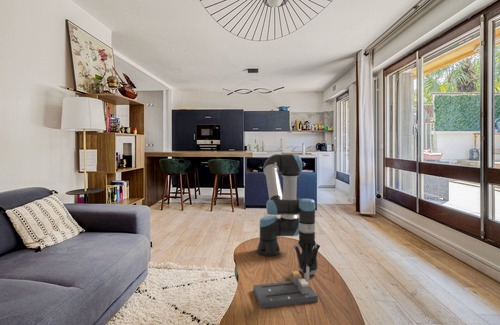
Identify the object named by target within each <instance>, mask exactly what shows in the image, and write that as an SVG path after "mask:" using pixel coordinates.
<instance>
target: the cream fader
mask: <svg viewBox="0 0 500 325" xmlns="http://www.w3.org/2000/svg"><path fill="white" fill-rule="evenodd" d="M307 281H308V280H306V279H305V278H302V279H298V289H299V291H300V292H301V293H302V294H309V286H310V285H309V282H307Z"/></svg>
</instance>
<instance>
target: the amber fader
mask: <svg viewBox="0 0 500 325" xmlns="http://www.w3.org/2000/svg"><path fill="white" fill-rule="evenodd" d="M298 279H303V278H302V274H301V273H300V271H299V270H292V271H291V281H293V283H294V284H295V285H296V286H297V285H298Z"/></svg>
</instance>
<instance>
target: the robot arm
mask: <svg viewBox="0 0 500 325" xmlns="http://www.w3.org/2000/svg"><path fill="white" fill-rule="evenodd" d="M262 168H263V174H264V176H265V178H266V179H265V180H266V187H267V191H268V192H267V193H268V200H267V201H266V205H265V206H266V208H265V209H266V214H268V215H265V216H263V217H261V218H260V219H259V241H258V245H257V248H256V253H257V254H258V255H260V256H264V257H275V256H278V255H279V254H280V253H281V248H280V244H279V242H278V237H297V236H298V243H297V244H295V245H293V249H294V250H295V253H296V257H297V263H298V265H299V264H300V265H301V266H303V272H304V274H303V276H304V278H303V279H305V280H306V281H310V275H309V273H310V272H311V267H312V265H314V264H315V261H316V257H317V256H318V252H319V249H320V247H321V246H320V244H318V243H317V242H316V240H315V239H316V233H315V231H316V203H315V202H316V201H315V200H314V199H313V198H312V199H311V198H297V191H298V190H297V187H298V185H297V184H298V182H297V179H298V177H300V173H302V172H303V161H302V158H301V155H299V154H293V153H292V154H291V153H284V154H283V153H282V154H277V153H276V154H273V155H271V156H269V157H268V158H267V159H266V160H265V161H264V164H263V167H262ZM279 173H280V175H281V177H282V179H283V180H282V182H283V183H282V184H283V186H282V185H281V180H280V177H279ZM282 188H283V189H282ZM279 215H280V217H279V218H278V216H279ZM300 248H301V251H300ZM312 248H313V253H312ZM301 252H302V258H301ZM306 263H307V264H308V265H306Z"/></svg>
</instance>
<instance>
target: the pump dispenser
mask: <svg viewBox="0 0 500 325" xmlns="http://www.w3.org/2000/svg"><path fill="white" fill-rule="evenodd" d="M313 249H314V247H313V248H312V253H313ZM300 254H301V258H302V251H300ZM318 263H319V261H318V258H317V257H316V261H315V264H314V265H312V267H311V272H310V273H309V276H313V275H315V274H316V273H317V271H318V268H319V264H318ZM306 265H308V264H307V263H306ZM298 268H299V270H300V272H301V273H302V274H303V275H304V272H303V266H301V265H300V264H299V263H298Z"/></svg>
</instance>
